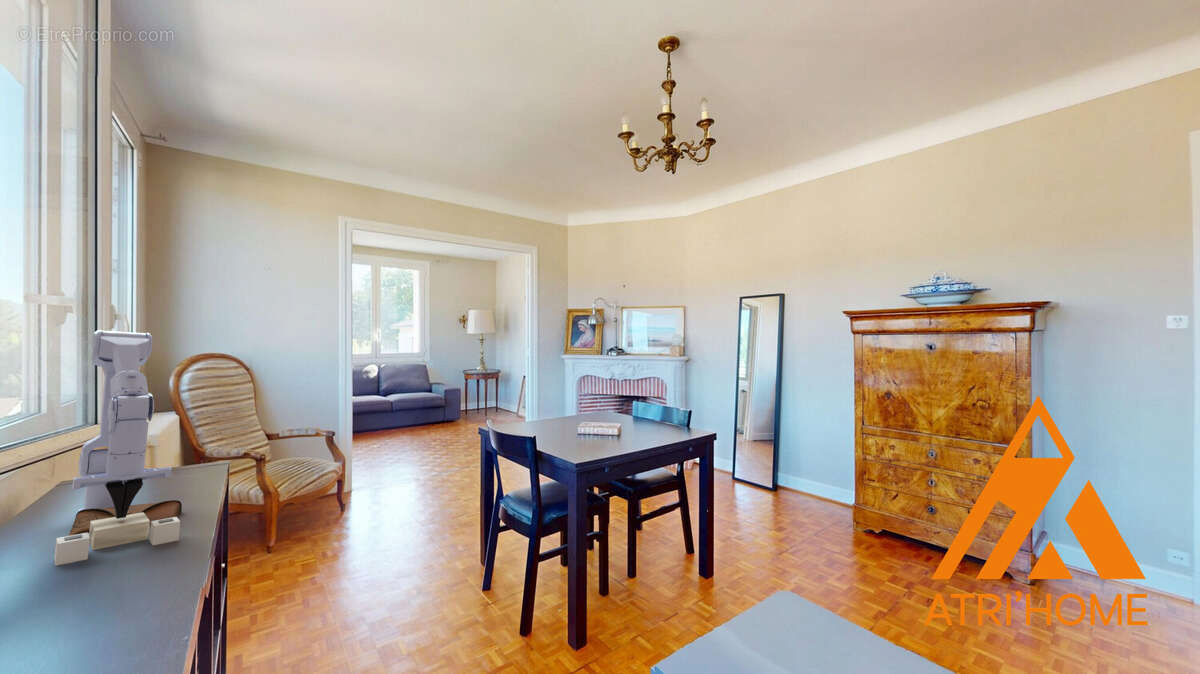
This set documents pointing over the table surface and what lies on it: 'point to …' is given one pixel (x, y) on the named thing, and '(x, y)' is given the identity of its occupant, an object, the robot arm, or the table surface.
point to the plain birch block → (118, 530)
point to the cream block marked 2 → (164, 530)
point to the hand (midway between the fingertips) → (120, 516)
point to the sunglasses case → (150, 510)
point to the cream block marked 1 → (72, 548)
